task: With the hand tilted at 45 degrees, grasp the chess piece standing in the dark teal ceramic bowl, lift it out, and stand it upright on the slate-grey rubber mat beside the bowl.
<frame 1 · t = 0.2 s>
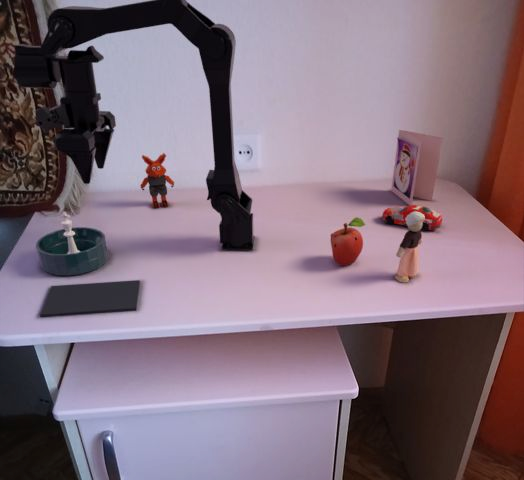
hand: (94, 175, 106), 14 cm above the table, tool pointing down, fingers open, 9 cm apart
race car: (410, 224, 122), on the table
toy animal: (160, 207, 132), on the table
mat: (92, 298, 96), on the table
bowl: (75, 261, 108), on the table
grandmother figurine: (406, 277, 102), on the table
apple: (345, 264, 106), on the table
greeting card: (411, 197, 135), on the table
chess piece: (75, 260, 108), resting on bowl
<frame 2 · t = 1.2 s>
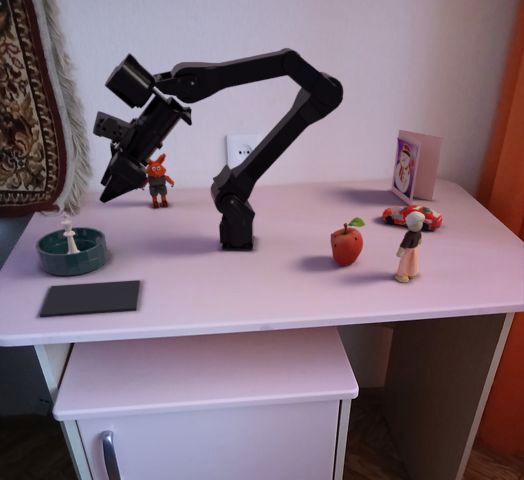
hand: (101, 192, 101), 13 cm above the table, tool tilted 45°, fingers open, 9 cm apart
nothing on the table moved.
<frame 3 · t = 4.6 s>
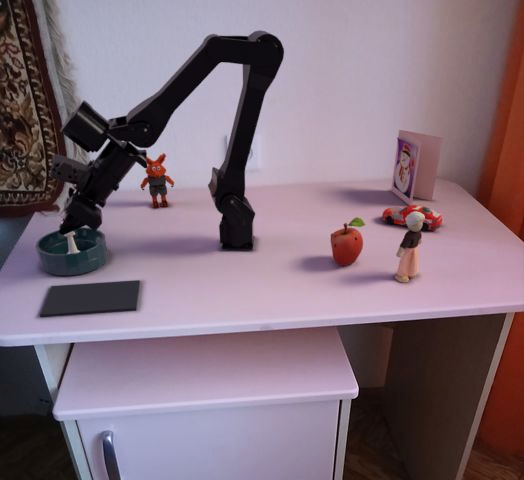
hand: (61, 231, 104), 7 cm above the table, tool tilted 45°, fingers closed on chess piece
chess piece: (75, 260, 108), resting on bowl, touching gripper
everything else where it was.
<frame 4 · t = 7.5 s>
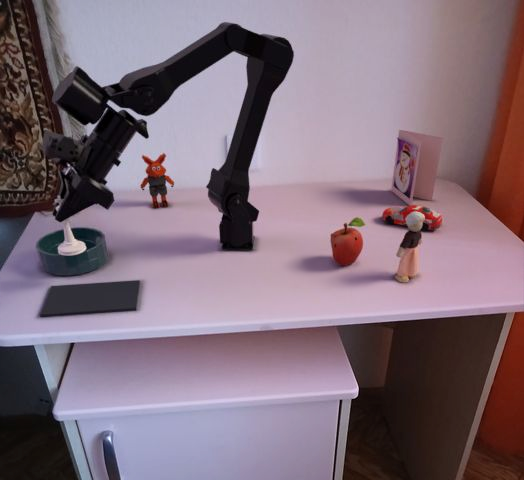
hand: (56, 218, 93), 13 cm above the table, tool tilted 45°, fingers closed on chess piece
chess piece: (72, 250, 97), point 6 cm above the table, touching gripper
everything else where it was.
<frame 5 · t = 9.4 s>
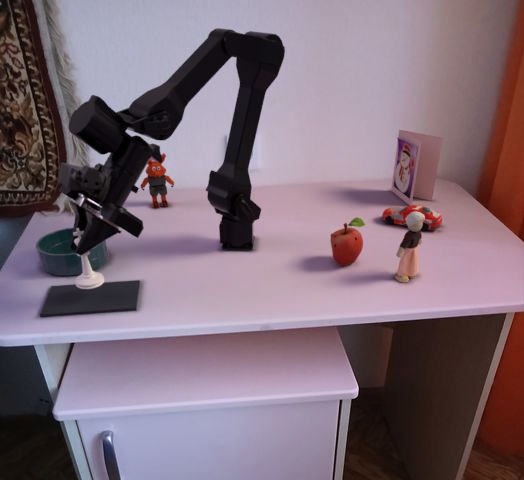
hand: (74, 252, 90), 10 cm above the table, tool tilted 45°, fingers closed on chess piece
chess piece: (90, 283, 94), point 3 cm above the table, touching gripper
everything else where it was.
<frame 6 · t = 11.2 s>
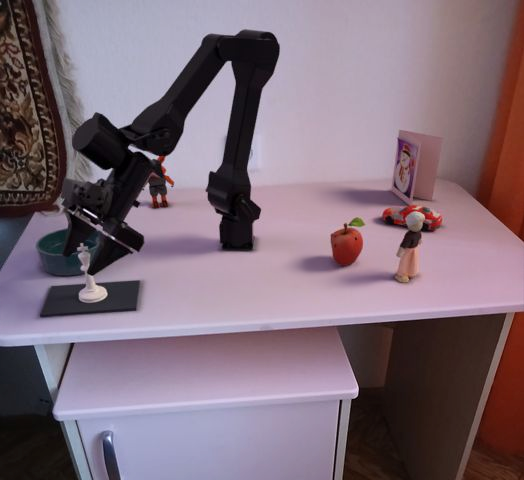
hand: (76, 265, 91), 7 cm above the table, tool tilted 45°, fingers open, 9 cm apart
chess piece: (93, 296, 96), resting on mat
everything else where it was.
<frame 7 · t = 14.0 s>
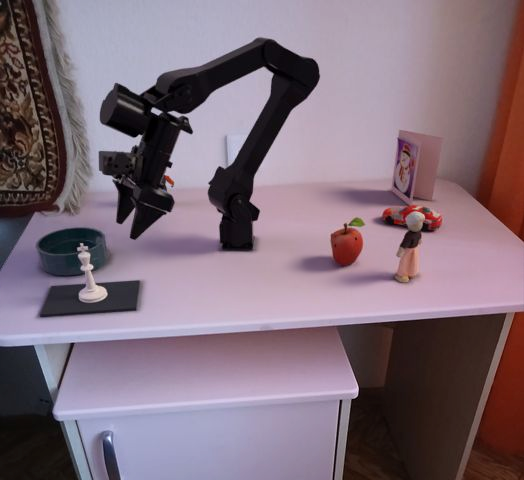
hand: (125, 231, 98), 9 cm above the table, tool tilted 30°, fingers open, 9 cm apart
nothing on the table moved.
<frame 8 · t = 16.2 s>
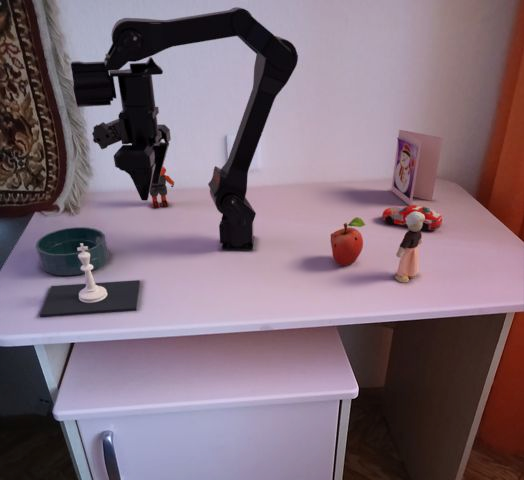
hand: (150, 191, 103), 13 cm above the table, tool pointing down, fingers open, 9 cm apart
nothing on the table moved.
at the end: chess piece inside the target area on the mat (0.3 cm from its centre), point 0.3 cm above the mat's base; chess piece tilted 0°; the gripper is holding nothing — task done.
